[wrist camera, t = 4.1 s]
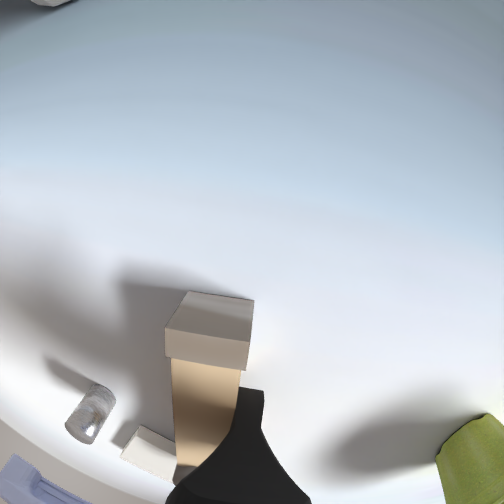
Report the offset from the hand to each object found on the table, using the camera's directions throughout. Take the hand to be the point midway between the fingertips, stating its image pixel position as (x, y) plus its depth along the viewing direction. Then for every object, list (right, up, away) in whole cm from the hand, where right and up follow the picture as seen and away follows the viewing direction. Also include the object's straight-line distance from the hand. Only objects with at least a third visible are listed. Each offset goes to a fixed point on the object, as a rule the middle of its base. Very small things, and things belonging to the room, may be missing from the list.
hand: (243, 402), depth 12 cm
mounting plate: (-4, -8, +3) cm, 9 cm away
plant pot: (+18, -8, +3) cm, 20 cm away
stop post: (-9, -2, +2) cm, 9 cm away
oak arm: (-2, 0, +1) cm, 2 cm away
